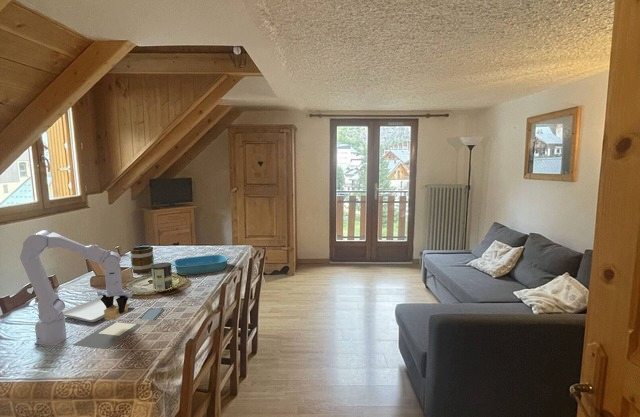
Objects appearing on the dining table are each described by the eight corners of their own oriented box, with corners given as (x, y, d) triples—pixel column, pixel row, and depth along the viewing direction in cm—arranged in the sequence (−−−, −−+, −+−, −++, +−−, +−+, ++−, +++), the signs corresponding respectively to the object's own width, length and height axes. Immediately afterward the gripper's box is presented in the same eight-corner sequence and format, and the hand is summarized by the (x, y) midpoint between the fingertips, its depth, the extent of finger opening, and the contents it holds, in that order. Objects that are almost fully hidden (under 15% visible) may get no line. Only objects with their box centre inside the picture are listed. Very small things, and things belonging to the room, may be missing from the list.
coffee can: (170, 284, 198) (169, 261, 196) (174, 290, 189) (173, 265, 187) (151, 288, 192) (149, 264, 190) (154, 293, 184) (152, 268, 182)
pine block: (118, 311, 147) (117, 302, 147) (128, 311, 147) (127, 302, 146) (104, 319, 139) (103, 310, 139) (114, 319, 139) (114, 310, 138)
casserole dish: (226, 262, 244) (225, 252, 243) (233, 270, 224) (232, 260, 223) (170, 269, 227) (169, 258, 226) (172, 279, 208) (171, 267, 207)
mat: (72, 346, 131) (72, 344, 131) (112, 322, 150) (112, 321, 150) (106, 349, 128) (106, 348, 128) (142, 325, 148) (142, 324, 148)
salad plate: (59, 319, 154) (58, 312, 154) (103, 301, 174) (102, 295, 174) (92, 327, 147) (91, 319, 146) (134, 307, 167) (133, 301, 166)
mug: (153, 272, 220) (151, 249, 219) (129, 274, 216) (128, 251, 214) (156, 263, 239) (154, 243, 237) (134, 266, 234) (133, 244, 232)
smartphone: (134, 323, 149) (148, 308, 164) (134, 325, 149) (148, 310, 164) (152, 322, 149) (164, 308, 164) (152, 324, 150) (164, 309, 164)
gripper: (90, 284, 138) (93, 315, 140) (123, 285, 136) (125, 317, 138) (103, 278, 145) (105, 308, 147) (134, 279, 143) (137, 310, 145)
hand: (116, 312), depth 143 cm, fingers closed on pine block, 4 cm apart
